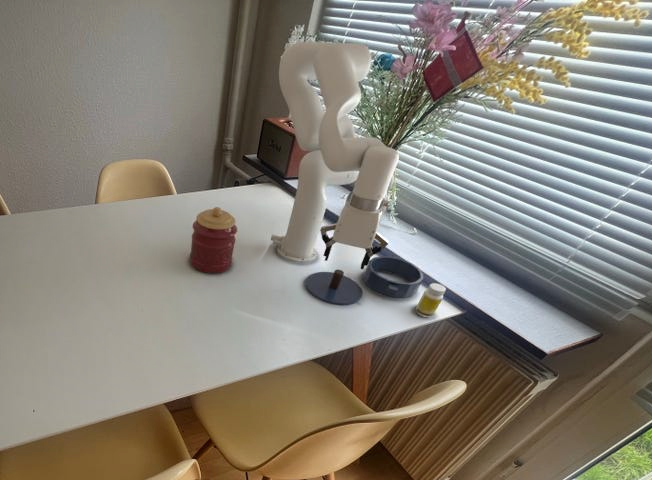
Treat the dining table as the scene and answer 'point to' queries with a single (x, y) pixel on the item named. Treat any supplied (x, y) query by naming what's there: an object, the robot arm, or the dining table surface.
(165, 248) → the dining table surface
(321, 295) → the pot lid
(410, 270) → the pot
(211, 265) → the kitchen canister
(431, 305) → the supplement bottle
